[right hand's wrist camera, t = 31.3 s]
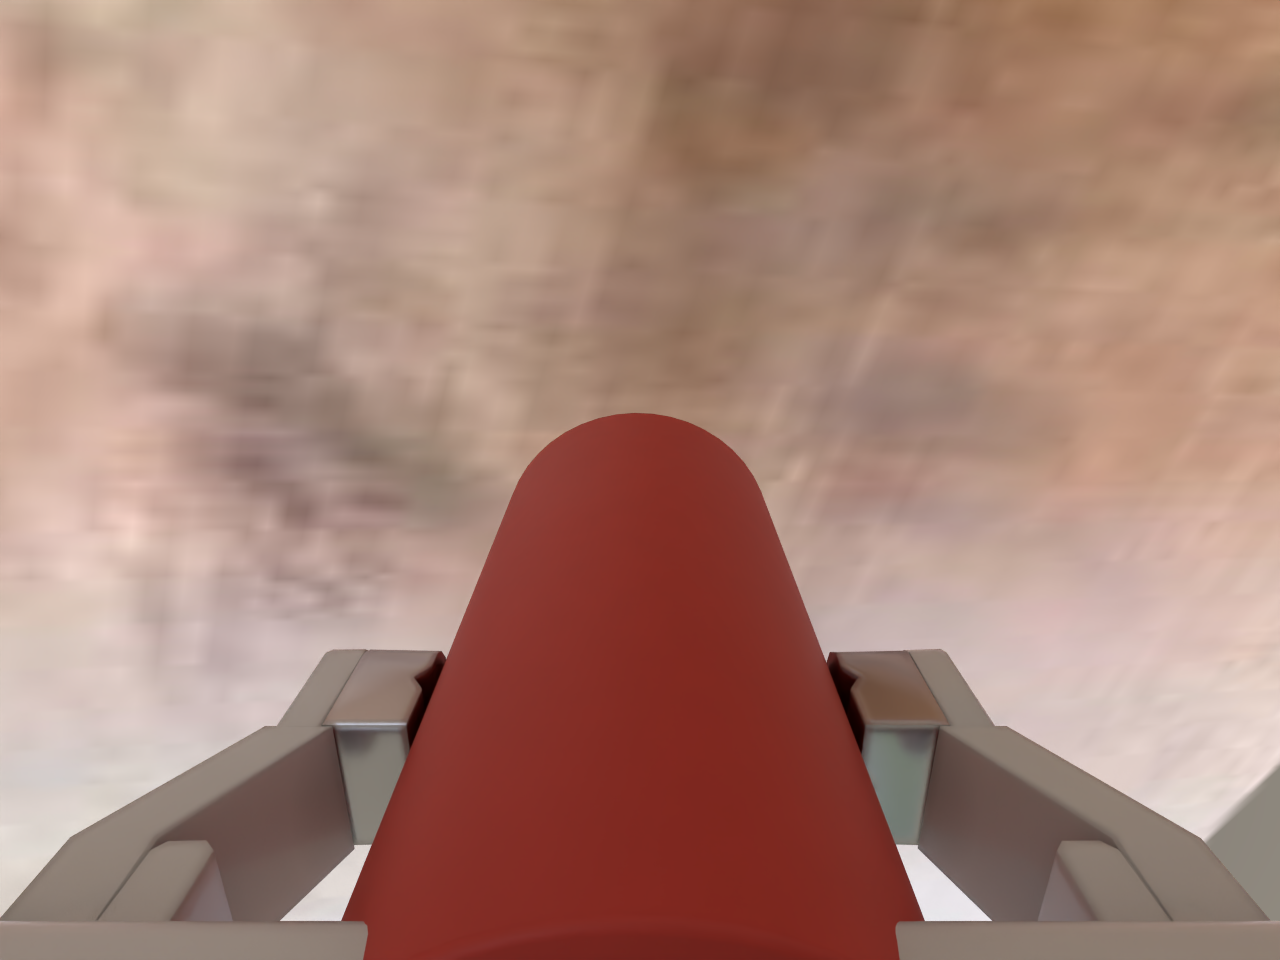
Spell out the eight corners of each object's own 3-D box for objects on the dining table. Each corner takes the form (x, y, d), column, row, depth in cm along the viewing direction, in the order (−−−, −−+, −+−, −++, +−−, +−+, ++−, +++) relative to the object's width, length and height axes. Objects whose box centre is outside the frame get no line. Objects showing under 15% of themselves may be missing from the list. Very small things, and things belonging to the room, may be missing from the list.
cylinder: (632, 354, 14) (615, 781, 4) (822, 533, 15) (1149, 1178, 5) (453, 540, 15) (119, 1190, 5) (641, 689, 17) (641, 1425, 7)
